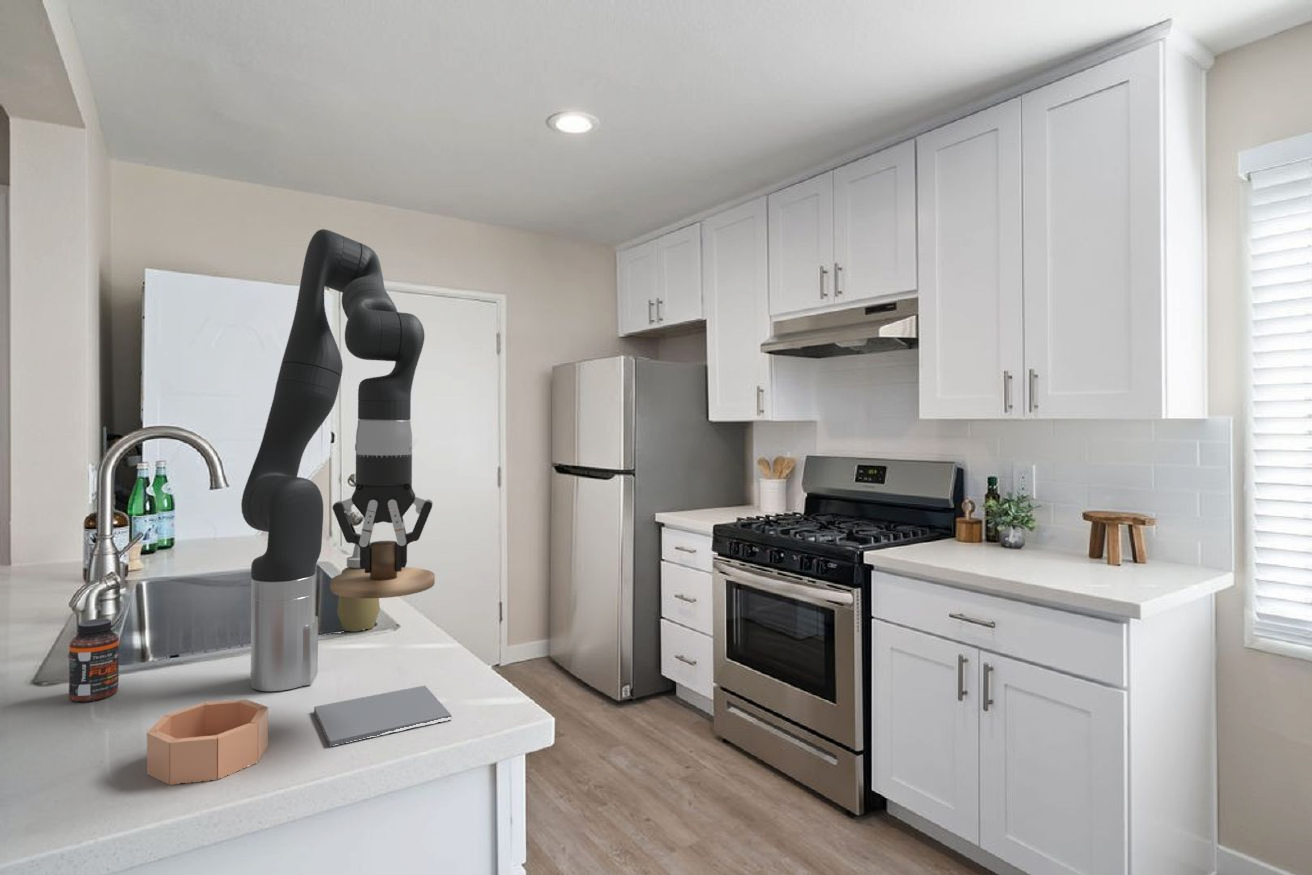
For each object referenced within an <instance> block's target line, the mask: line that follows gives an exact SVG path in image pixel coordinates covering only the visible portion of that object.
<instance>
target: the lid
mask: <svg viewBox="0 0 1312 875" xmlns="http://www.w3.org/2000/svg"><path fill="white" fill-rule="evenodd" d="M397 544H398V542H397V540H378V541H372V542H370V573H365V569H362V570H356V571H351V572H347V573H343V574H342V573H340V574H338V575H334V577H332V578H331V579H330V580H329V592H331V593H332V594H333V595H336V596H338V597H339V596H343V597H349V598H379V599H388V598H389V599H390V598H396V597H405V596H409V595H413V594H414V595H415V594H419V593H422V592H424V591H427V590H430V589H432V588H433V587H434V586H435V584H436V583H435V573H434V572H433V571H431V570H428V569H424V568H418V567H408V566H407V567H406V566H405V567H402V571H401V572H396V546H397Z"/></svg>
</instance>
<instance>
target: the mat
mask: <svg viewBox="0 0 1312 875" xmlns="http://www.w3.org/2000/svg"><path fill="white" fill-rule="evenodd" d="M313 708H314V709H313V713H314V712H315V713H314V715H315V714H316V715H315V718H318V719H317V721H319V722H318V723H320V724H319V726H320V725H321V726H320V728H321V727H322V728H321V730H322V729H323V730H322V732H323V731H324V733H323V735H324V734H325V735H324V737H325V736H326V737H325V739H326V738H327V739H326V741H327V740H328V742H327V744H328V743H329V744H328V746H329V745H330V746H333V745H335V744H342V743H346V742H350V741H354V740H359V739H363V738H367V737H370V736H377V735H380V734H382V733H385V732H388V731H394V730H396V729H400V728H404V727H409V726H413V725H416V724H420V723H427V722H430V721H434V720H438V719H441V718H448V717H451V718H452V714H451V713H450V711H448V709H447V708H446V707H445V706H444V705H443V703H441V702H440V700H439V699H438V698H437V697H436V696H435V695H434V694H433V692H431V690H430V689H429V688H428V687H427V686H426V685H420V686H414V687H410V688H406V689H405V688H404V689H400V690H393V691H388V692H385V693H379V694H372V695H369V696H363V697H358V698H353V699H348V700H342V701H338V702H332V703H331V702H330V703H326V704H321V705H317V706H313ZM330 746H329V747H330Z"/></svg>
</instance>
